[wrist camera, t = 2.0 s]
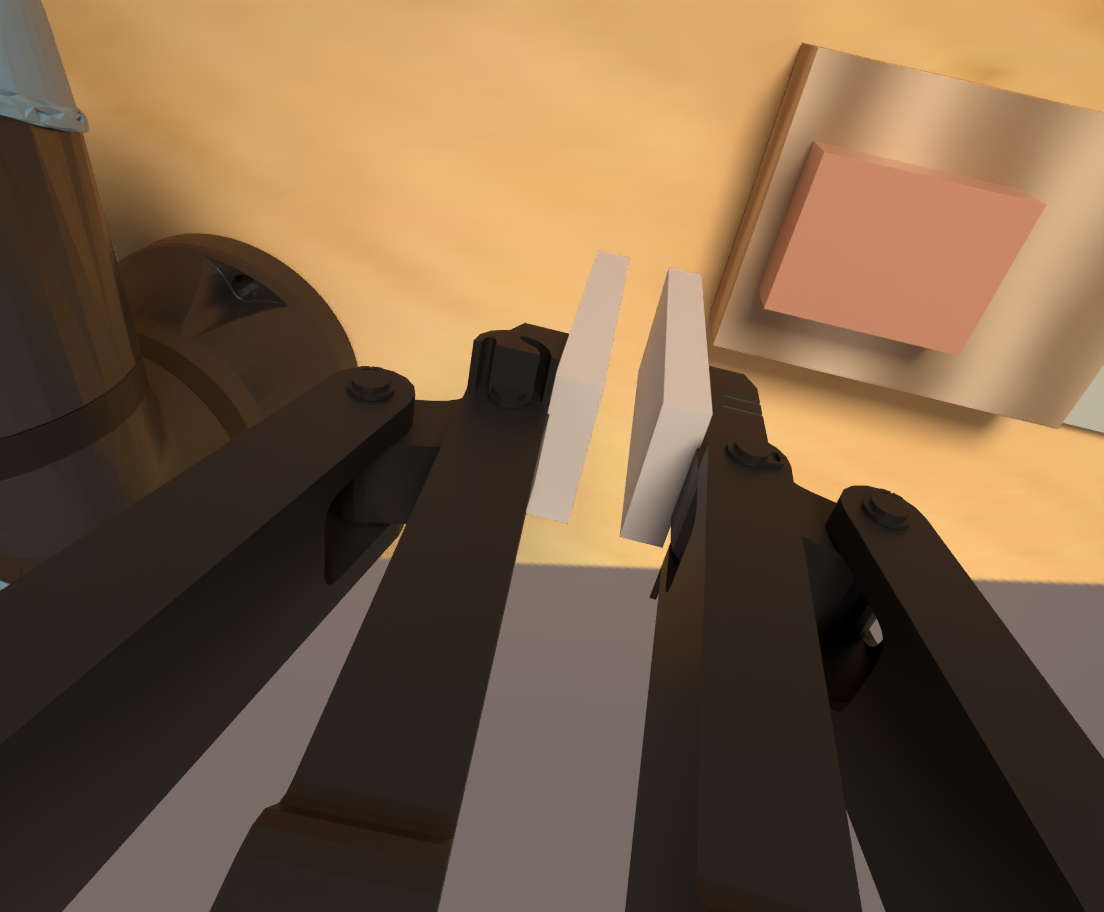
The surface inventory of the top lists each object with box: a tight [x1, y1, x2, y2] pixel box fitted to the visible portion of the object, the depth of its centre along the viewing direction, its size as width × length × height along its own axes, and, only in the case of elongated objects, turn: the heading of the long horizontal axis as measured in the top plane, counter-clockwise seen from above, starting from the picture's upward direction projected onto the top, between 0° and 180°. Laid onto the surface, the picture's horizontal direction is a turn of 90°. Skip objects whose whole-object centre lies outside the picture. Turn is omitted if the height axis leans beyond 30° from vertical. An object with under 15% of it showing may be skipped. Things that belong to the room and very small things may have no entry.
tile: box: [758, 141, 1047, 356], centre depth 27 cm, size 8×6×2 cm
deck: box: [710, 43, 1104, 429], centre depth 30 cm, size 16×12×4 cm
